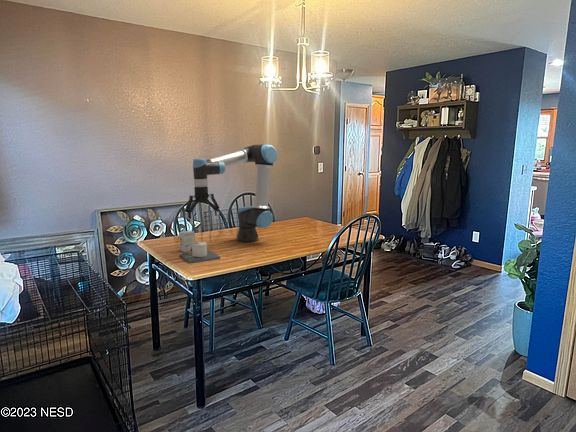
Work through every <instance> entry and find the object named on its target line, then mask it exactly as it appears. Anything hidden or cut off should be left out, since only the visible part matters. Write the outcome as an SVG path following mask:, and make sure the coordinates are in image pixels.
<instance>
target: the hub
mask: <svg viewBox="0 0 576 432" xmlns="http://www.w3.org/2000/svg"><path fill="white" fill-rule="evenodd" d="M179 257H180V258H181V259H183V261H185V262H187V263H188V264H196V263H202V262H207V261H214V260H221V256H220V255H219V254H217V253H215V252H213V251H212V250H210V249H207V255H206V256H204V257H194V256H192V251H189V252H182V253H179Z"/></svg>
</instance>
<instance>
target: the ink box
mask: <svg viewBox="0 0 576 432" xmlns="http://www.w3.org/2000/svg"><path fill="white" fill-rule="evenodd" d="M178 237H179V251H180V252H182V253H189V252H192V243H194V242H196V232H195V230H187V231H186V230H185V231H181V232H179V233H178Z"/></svg>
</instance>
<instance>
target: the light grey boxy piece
mask: <svg viewBox="0 0 576 432" xmlns="http://www.w3.org/2000/svg"><path fill="white" fill-rule="evenodd" d="M207 250H208V244H207V242H206V241H195V242H194V243H192V251H191V252H192V256H194V257H204V256H206V255H207Z"/></svg>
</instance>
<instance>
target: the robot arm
mask: <svg viewBox="0 0 576 432" xmlns="http://www.w3.org/2000/svg"><path fill="white" fill-rule="evenodd" d="M277 159H278V151H277V149H276V148H275V146H273V145H271V144H267V143H264V144H252V145H248V146H246V147H243V148H239V150H237V151H234V152H231V153H227V154H223V155H219V156H215V157H212V158H208V159H206V158H194V159H193V160H192V171H193V185H194V194H193V195H191V194H190V195H189V197H188V201H187V202H186V206H185V208H184V213H187V217H188V219H189V224H190V225H193V224H194V217H193V216H194V215H193V210H195V207H197V205H198V204H199V203H206V204H208V205H209V206H210V207H211V209H212V210H211V216H212V217H211V218H212V222H216V221H217V220H216V216H217V211H218V210H219V209H220V206H219V204H218V202H217V200H216V198H215V197H214V193H210V194H209V187H208V176H212V175H213V176H214V175H216V176H217V175H223V174H224V173H225V172H226V168H227V167H230V166H234V165H238V164H240V163H243V164H246V163H247V164H248V163H254V165H255V166H256V180H255V182H256V183H255V197H254V205H250V206H241V207H239V208H238V212H237V215H238V231H237V234H236V237H235V238H236V241H237V242H239V243H241V242H242V243H253V242H257V241H259V234H258V231H257V228H258V229H268V228H269V227H270V226H271V225H272V224H273V223H272V222H273V220H274V216H273V213H272V212H271V207H270V206H269V194H270V181H271V169H272V168H273V167H274V163H276V161H277ZM209 198H210V199H209ZM194 199H195V200H194ZM193 200H194V202H193ZM210 200H211V201H212V202H211V201H210ZM192 202H193V203H192Z"/></svg>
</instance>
